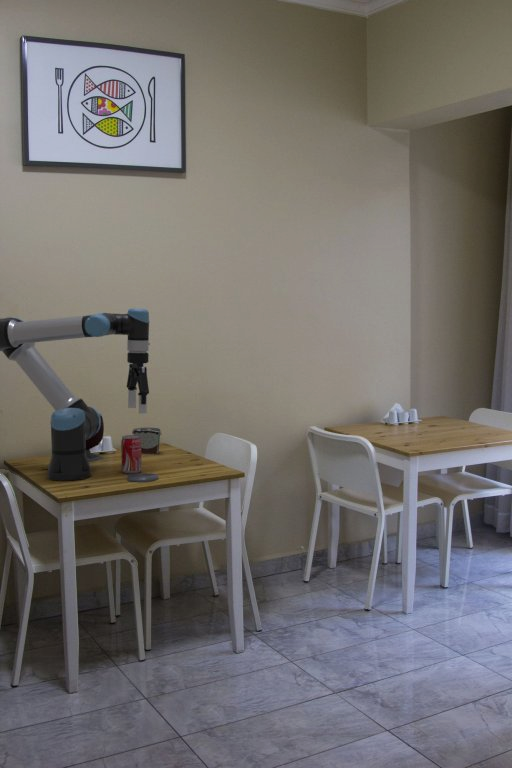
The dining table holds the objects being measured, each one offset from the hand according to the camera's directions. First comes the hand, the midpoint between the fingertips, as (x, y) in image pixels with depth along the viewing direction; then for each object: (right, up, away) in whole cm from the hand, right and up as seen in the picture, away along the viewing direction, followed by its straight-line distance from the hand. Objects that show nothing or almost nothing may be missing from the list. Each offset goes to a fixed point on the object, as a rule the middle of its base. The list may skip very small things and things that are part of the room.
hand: (137, 410), depth 308 cm
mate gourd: (-23, -20, +24) cm, 39 cm away
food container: (0, -18, +36) cm, 40 cm away
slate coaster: (+4, -23, -12) cm, 27 cm away
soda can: (-2, -22, -1) cm, 22 cm away
